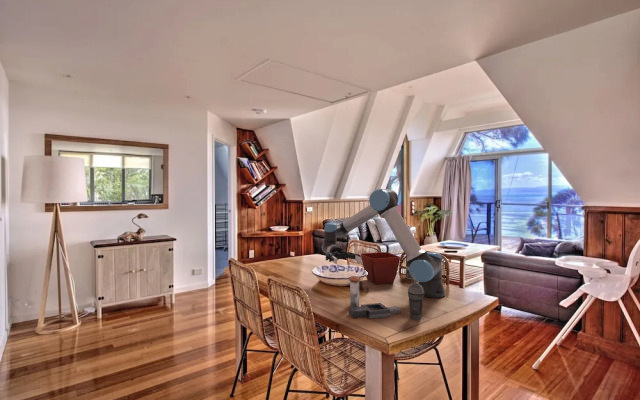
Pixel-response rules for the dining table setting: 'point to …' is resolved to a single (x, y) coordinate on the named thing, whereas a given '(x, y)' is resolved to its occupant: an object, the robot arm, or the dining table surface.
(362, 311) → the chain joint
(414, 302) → the beverage cup
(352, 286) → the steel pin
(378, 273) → the plant pot
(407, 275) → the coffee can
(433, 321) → the dining table surface
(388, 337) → the dining table surface
